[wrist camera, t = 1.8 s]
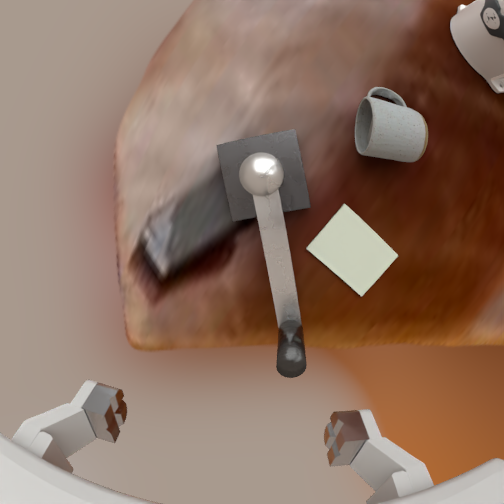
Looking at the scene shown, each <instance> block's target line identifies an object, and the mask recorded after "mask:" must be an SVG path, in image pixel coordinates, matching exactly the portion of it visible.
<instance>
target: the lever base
mask: <svg viewBox="0 0 504 504" xmlns="http://www.w3.org/2000/svg"><path fill="white" fill-rule="evenodd" d="M217 150H218V155H219V160H220V165H221V170H222V174H223V179H224V184H225V189H226V194H227V198H228V203H229V208H230V213H231V217H232V222H233V221H238V220H243V219H249V218H254V217H257V214H256V209H255V204H254V199H253V194H251V193H249V192H248V191H246V190H245V189H244V187H243V186H242V184H241V182H240V178H239V170H240V167H241V164H242V163H243V161H244V160H245V159H246V158H247V157H248V156H250V155H252V154H254V153H259V152H263V153H268V154H271V155H273V156H274V157H276V158H277V159H278V160H279V162H280V163H281V165H282V167H283V171H284V178H283V182H282V184H281V186H280V187H279V194H280V199H281V204H282V210H283V212H287V211H293V210H298V209H304V208H310V207H311V206H310V201H309V195H308V190H307V184H306V179H305V174H304V169H303V164H302V159H301V154H300V150H299V145H298V140H297V136H296V131H295V129H293V130H287V131H281V132H276V133H271V134H265V135H260V136H255V137H251V138H246V139H241V140H237V141H233V142H228V143H224V144H220V145H217Z"/></svg>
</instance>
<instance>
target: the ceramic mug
mask: <svg viewBox="0 0 504 504" xmlns="http://www.w3.org/2000/svg"><path fill="white" fill-rule="evenodd" d="M372 95H380V96H383V97H386V98H389V99H391V100H393V101H394V102H395V103H396V104H397V105H396V104H393V103H390V102H387V101H383V100H380V99H376V98H372V97H371V96H372ZM427 141H428V129H427V125H426V122H425V119H424V118H423V116H422V115H421V114H419V113H418V112H416V111H414V110H412V109H410V108H407V107H406V104H405V102H404V101H403V99H402V98H401V97H400V96H399V95H398V94H396V93H395V92H393V91H391V90H389V89H386V88H383V87H375V88H373V89H371V90H370V91H369V93H368V95H367V97H364V98H363V99H362V101H361V103H360V105H359V108H358V111H357V116H356V124H355V143H356V148H357V151H358V152H359V153H360V154H361V155H365V156H372V157H378V158H384V159H391V160H396V161H402V162H415V161H417V160H418V159H420V158H421V156H422V155H423V153H424V152H425V149H426V146H427Z"/></svg>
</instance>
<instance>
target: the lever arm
mask: <svg viewBox="0 0 504 504" xmlns="http://www.w3.org/2000/svg"><path fill="white" fill-rule="evenodd" d="M239 178H240V182H241V184H242V186H243V187H244V189H245V190H246V191H248V192H249V193H251V194H253V199H254V204H255V209H256V214H257V219H258V224H259V229H260V234H261V239H262V244H263V249H264V254H265V259H266V264H267V269H268V274H269V280H270V285H271V290H272V295H273V300H274V306H275V311H276V316H277V321H278V327H279V332H278V350H277V366H276V367H277V371H278V372H279V373H280V374H281V375H282V376H284V377H289V378H293V377H297V376H299V375H301V374H302V373H303V372H304V371H305V369H306V357H305V345H304V335H303V327H302V323H301V316H300V309H299V303H298V296H297V290H296V284H295V278H294V272H293V266H292V260H291V254H290V248H289V243H288V237H287V231H286V226H285V220H284V215H283V210H282V204H281V199H280V194H279V187H280V186H281V184H282V182H283V178H284V171H283V167H282V165H281V163H280V162H279V160H278V159H277V158H276V157H274V156H273V155H271V154H268V153H263V152H259V153H254V154H252V155H250V156H248V157H247V158H246V159H245V160H244V161H243V163H242V164H241V167H240V170H239Z"/></svg>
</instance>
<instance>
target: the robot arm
mask: <svg viewBox="0 0 504 504" xmlns="http://www.w3.org/2000/svg"><path fill="white" fill-rule="evenodd" d="M450 29H451V33H452V36H453V39H454V41H455V43H456V45H457V47H458V49H459V50H460V52H461V53H462V55H463V56H464V58H465V59H466V60H467V62H468V63H469V64H470V65H471V66H472V67H473V68H474V69H475V70H476V71H477V72H478V73H479V74H480V75H482V76H483V77H484V78H485V79H486V80H487V82H488V83H489V85H490V86H491V88H492V89H493V90H494V91H495V92H496V93H504V0H476V1H474V2H473V3H471V4H469V5H468V6H465V5H460V6H459V7H458V11H457V14H456V15H455V16H453V17H452V19H451V22H450ZM123 397H124V394H123V391H122V390H121V389H118V388H114V387H111V386H108V385H105V384H102V383H98V382H95V381H92V380H87V381H85V383H84V384H83V386H82V387H81V388H80V390H79V391H78V393H77V394H76V396H75V397H74V399H73V400H72V402H71V403H70V404H68V403H66V404H64V405H61V406H59V407H57V408H54V409H52V410H49V411H47V412H45V413H42V414H40V415H37V416H35V417H32V418H30V419H27V420H25V421H24V422H23V423H22V425H21V426H20V428H19V429H18V431H17V432H16V433H15V435H14V436H13V438H12V439H9V438H7V437H6V436H5V435H3V434H2V433H0V504H161V503H156V502H152V501H149V500H144V499H141V498H137V497H134V496H130V495H127V494H124V493H121V492H118V491H115V490H112V489H109V488H106V487H104V486H101V485H98V484H96V483H93V482H91V481H88V480H86V479H83V478H81V477H79V476H76V475H74V474H72V472H73V467H72V466H71V465H70V463H69V462H68V460H67V459H66V458H68V457H69V456H71V455H72V454H74V453H75V452H77V451H78V450H80V449H81V448H83V447H85V446H86V445H88V444H89V443H91V442H92V441H94V440H95V439H96V438H99V439H103V440H106V441H109V442H112V443H115V442H116V440H117V437H118V436H119V433H120V430H119V426H121V425H123V424H124V422H125V420H126V416H127V406H126V403H125V402H124V401H123V400H122V399H123ZM330 419H331V422H330V423H329V424H328V425H327V426H326V429H325V433H324V442H325V446H327V447H328V448H329V451H328V453H327V456H328V460H329V464H330V466H341V465H350V467H351V468H352V469H353V470H354V471H356V473H357V474H358V475H359V476H360V477H361V478H362V479H363V480H364V481H365V482H367V483H368V485H370V487H372V488H373V489H374V490H375V491H376V492H375V493H374V494H373V495H372V496H371V497H370V498H369V499H368V500H367V501H366V503H367V504H504V460H501V459H499V458H494V459H491V460H489V461H487V462H485V463H484V464H482V465H480V466H478V467H476V468H474V469H472V470H470V471H468V472H465V473H463V474H461V475H459V476H457V477H454V478H452V479H450V480H448V481H445V482H442V483H440V484H437V485H435V486H434V484H433V482H432V480H431V477H430V475H429V473H428V470H427V468H426V466H425V464H424V463H422V462H421V461H419V460H418V459H416V458H415V457H413V456H412V455H410V454H409V453H407V452H406V451H404V450H403V449H401V448H400V447H399V446H397V445H396V444H394V443H393V442H391V441H390V440H388V439H387V438H386V437H384V438H382V436H381V434H380V432H379V429H378V427H377V424H376V422H375V420H374V417H373V415H372V413H371V411H370V410H369V409H368V410H355V411H341V412H333V414H332V415H331V417H330Z"/></svg>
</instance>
